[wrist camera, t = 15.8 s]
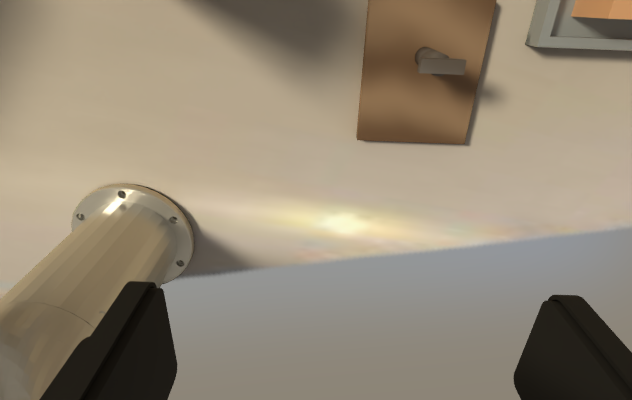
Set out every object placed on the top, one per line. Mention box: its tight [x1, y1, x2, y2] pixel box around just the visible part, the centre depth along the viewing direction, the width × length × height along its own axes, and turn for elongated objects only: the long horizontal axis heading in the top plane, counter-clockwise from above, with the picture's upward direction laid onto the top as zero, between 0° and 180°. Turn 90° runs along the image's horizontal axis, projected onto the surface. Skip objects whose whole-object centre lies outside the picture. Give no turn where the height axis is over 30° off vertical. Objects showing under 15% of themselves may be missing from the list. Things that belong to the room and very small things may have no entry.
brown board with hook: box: [357, 0, 496, 144], centre depth 31 cm, size 12×10×6 cm
